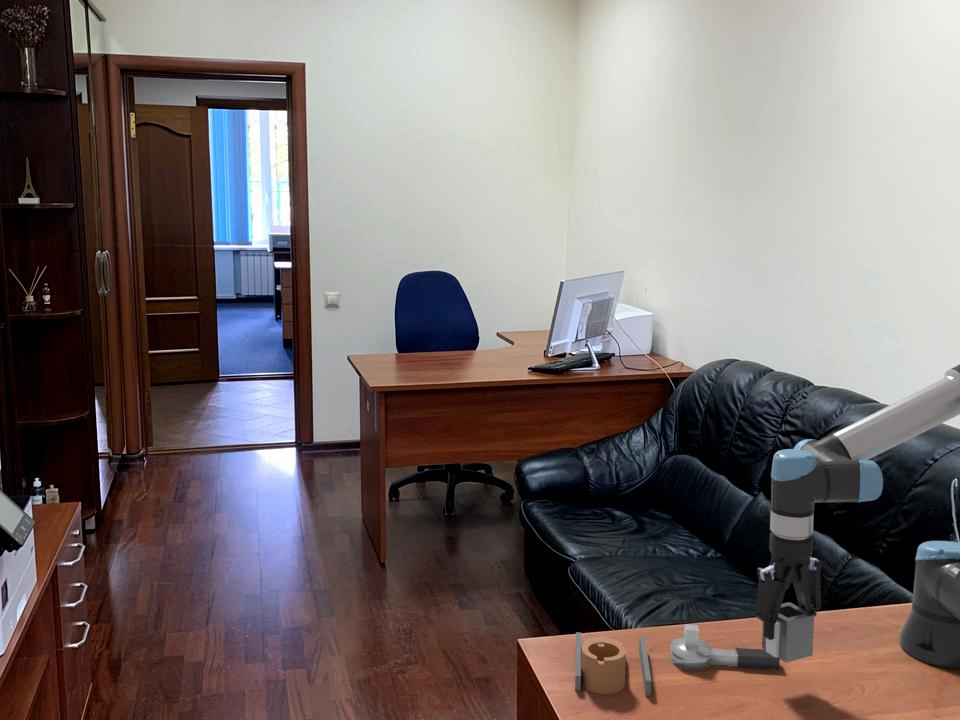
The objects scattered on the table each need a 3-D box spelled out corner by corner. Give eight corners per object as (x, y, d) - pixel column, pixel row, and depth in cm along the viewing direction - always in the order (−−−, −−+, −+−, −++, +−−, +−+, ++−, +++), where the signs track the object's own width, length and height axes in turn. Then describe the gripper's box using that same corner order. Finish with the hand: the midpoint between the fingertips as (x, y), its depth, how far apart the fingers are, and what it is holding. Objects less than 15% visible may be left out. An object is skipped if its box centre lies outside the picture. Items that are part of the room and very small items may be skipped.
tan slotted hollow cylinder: (624, 697, 163) (626, 662, 162) (580, 693, 164) (581, 658, 163) (623, 651, 181) (624, 619, 180) (582, 648, 182) (583, 616, 181)
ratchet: (772, 656, 179) (775, 624, 178) (781, 676, 171) (783, 642, 170) (668, 649, 181) (669, 617, 180) (672, 668, 173) (673, 635, 172)
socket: (788, 641, 170) (789, 602, 169) (812, 655, 164) (814, 615, 163) (762, 647, 168) (763, 608, 167) (785, 662, 162) (787, 621, 161)
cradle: (643, 650, 181) (644, 636, 180) (650, 695, 163) (651, 680, 163) (575, 645, 182) (576, 632, 182) (575, 690, 165) (575, 675, 164)
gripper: (816, 519, 170) (811, 631, 173) (735, 535, 162) (732, 652, 166) (846, 531, 163) (840, 648, 166) (763, 548, 155) (760, 670, 159)
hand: (786, 649), depth 166 cm, fingers closed on socket, 6 cm apart
